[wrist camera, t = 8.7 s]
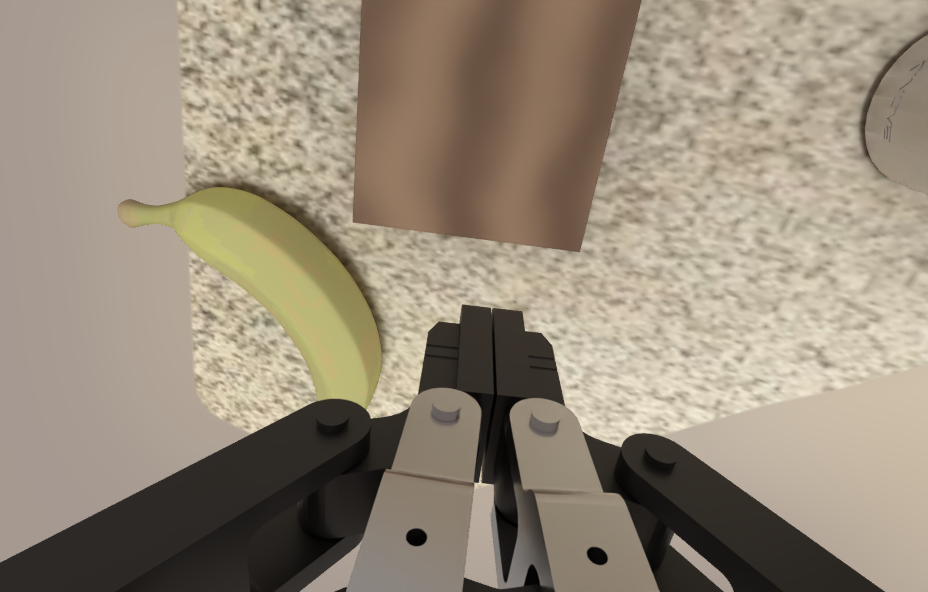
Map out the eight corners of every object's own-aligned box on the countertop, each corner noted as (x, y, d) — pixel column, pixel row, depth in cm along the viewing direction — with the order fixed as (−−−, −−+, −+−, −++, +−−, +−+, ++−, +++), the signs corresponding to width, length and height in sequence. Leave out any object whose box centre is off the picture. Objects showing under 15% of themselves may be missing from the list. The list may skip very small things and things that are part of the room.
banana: (445, 302, 36) (171, 119, 33) (422, 355, 32) (103, 150, 29) (358, 408, 44) (129, 268, 41) (329, 463, 40) (70, 310, 36)
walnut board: (632, -4, 29) (642, -5, 28) (574, 240, 36) (579, 252, 34) (370, -43, 29) (363, -47, 27) (359, 211, 35) (352, 222, 33)
